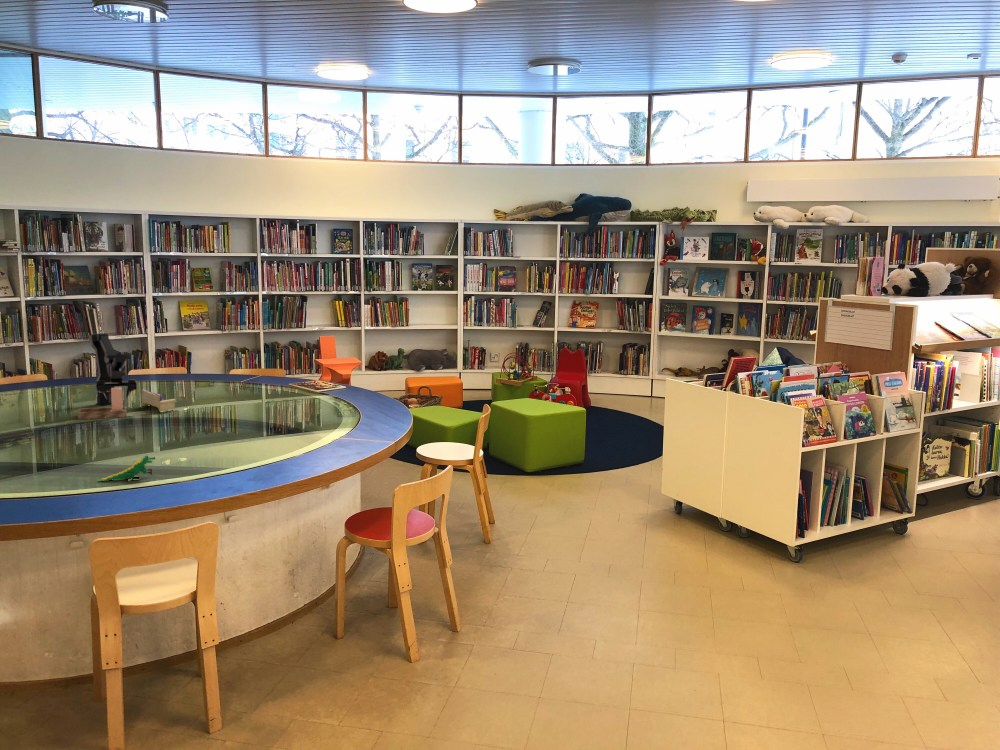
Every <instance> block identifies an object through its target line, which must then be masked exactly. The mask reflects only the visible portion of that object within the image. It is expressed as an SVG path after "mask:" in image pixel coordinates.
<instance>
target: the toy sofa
mask: <svg viewBox="0 0 1000 750" xmlns="http://www.w3.org/2000/svg"><path fill="white" fill-rule="evenodd" d="M141 393H142V394H141V403H142V404H141V407H142V406H148V405H152V406H151V407H156V408H158V411H163V410H168V409H173V408H175V409H176V399H175V398H170V399H163V395H162V394H160V393H157V392H152V391H150V390H147V389H145V388H144V389H141Z"/></svg>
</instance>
